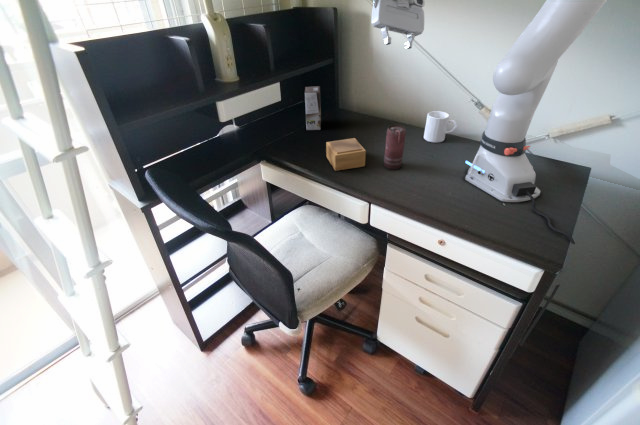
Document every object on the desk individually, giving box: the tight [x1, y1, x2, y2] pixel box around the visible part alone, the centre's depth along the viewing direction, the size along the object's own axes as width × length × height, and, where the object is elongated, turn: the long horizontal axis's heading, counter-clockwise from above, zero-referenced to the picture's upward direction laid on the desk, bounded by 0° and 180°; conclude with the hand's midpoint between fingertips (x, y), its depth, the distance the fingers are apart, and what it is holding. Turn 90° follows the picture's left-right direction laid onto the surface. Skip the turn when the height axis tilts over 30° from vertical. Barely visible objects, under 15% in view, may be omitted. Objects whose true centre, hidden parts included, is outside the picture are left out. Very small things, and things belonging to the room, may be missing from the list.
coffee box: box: [304, 85, 322, 131], centre depth 141 cm, size 9×6×16 cm
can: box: [383, 124, 407, 171], centre depth 110 cm, size 6×6×14 cm
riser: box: [325, 137, 367, 172], centre depth 117 cm, size 11×11×6 cm
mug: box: [423, 110, 459, 143], centre depth 128 cm, size 8×12×10 cm
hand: (398, 46), depth 104 cm, fingers open, 8 cm apart
